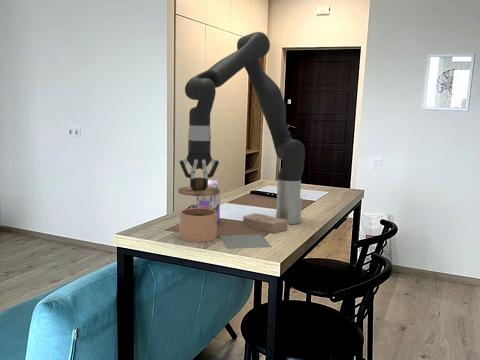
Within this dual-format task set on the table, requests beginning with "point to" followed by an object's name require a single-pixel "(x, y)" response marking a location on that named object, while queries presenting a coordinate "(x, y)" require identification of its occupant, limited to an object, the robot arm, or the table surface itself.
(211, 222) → the pot
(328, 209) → the table surface
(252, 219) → the brick
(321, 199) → the table surface
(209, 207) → the candy box
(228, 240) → the mat
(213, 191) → the lid
